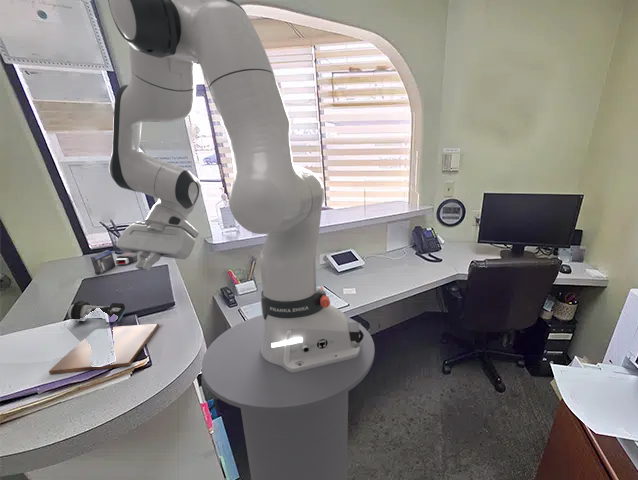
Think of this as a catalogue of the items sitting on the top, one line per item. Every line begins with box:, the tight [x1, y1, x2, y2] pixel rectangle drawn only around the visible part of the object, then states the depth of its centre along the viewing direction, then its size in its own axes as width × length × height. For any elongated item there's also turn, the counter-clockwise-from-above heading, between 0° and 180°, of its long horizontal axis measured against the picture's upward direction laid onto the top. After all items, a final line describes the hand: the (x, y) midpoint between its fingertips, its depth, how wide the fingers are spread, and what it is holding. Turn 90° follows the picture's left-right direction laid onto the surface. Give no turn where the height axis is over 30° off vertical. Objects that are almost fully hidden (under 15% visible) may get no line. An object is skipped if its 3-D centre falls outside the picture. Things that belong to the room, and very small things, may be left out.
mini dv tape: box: [90, 249, 116, 275], centre depth 107 cm, size 8×2×6 cm, turn 9°
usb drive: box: [114, 251, 138, 265], centre depth 119 cm, size 5×12×3 cm, turn 11°
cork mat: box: [48, 323, 160, 375], centre depth 67 cm, size 13×16×1 cm
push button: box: [67, 300, 127, 324], centre depth 76 cm, size 7×5×10 cm
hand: (142, 268), depth 80 cm, fingers closed
